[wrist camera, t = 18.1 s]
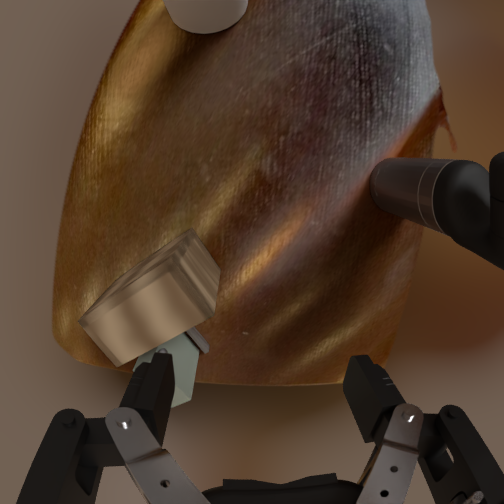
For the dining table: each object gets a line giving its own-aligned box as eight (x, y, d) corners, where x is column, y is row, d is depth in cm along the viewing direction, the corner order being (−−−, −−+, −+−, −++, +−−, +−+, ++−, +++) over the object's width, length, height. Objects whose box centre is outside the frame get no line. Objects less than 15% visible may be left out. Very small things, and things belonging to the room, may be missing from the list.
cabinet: (192, 227, 45) (171, 257, 30) (256, 320, 50) (263, 376, 35) (108, 285, 47) (68, 328, 32) (172, 363, 52) (156, 421, 37)
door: (174, 312, 49) (157, 357, 36) (204, 348, 51) (196, 397, 38) (153, 325, 49) (132, 370, 37) (182, 359, 52) (170, 408, 39)
